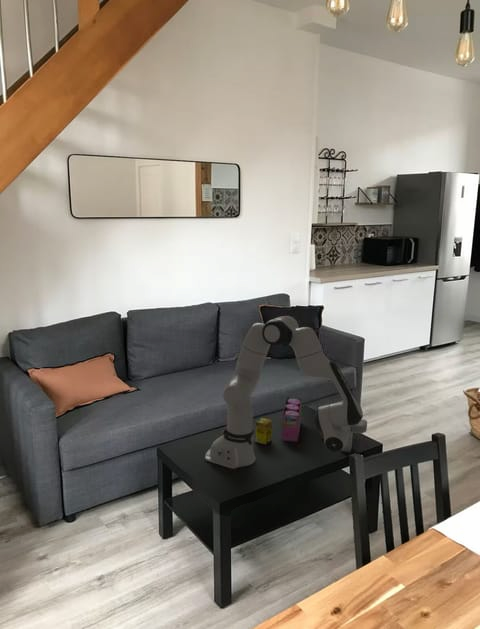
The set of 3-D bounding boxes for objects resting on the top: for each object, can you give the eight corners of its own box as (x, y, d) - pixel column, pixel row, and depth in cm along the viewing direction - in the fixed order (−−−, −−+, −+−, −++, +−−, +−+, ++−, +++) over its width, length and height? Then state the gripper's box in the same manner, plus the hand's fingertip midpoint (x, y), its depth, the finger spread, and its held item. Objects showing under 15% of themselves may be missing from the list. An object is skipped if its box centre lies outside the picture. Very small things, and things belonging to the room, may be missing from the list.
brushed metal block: (339, 450, 237) (340, 426, 235) (340, 446, 242) (342, 422, 239) (350, 452, 236) (351, 428, 233) (351, 448, 240) (353, 424, 238)
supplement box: (265, 446, 241) (266, 424, 238) (254, 443, 244) (255, 421, 241) (271, 441, 246) (272, 420, 243) (260, 438, 249) (261, 417, 246)
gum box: (285, 420, 270) (286, 396, 267) (300, 422, 269) (302, 397, 266) (281, 440, 247) (282, 414, 244) (298, 442, 246) (299, 415, 243)
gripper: (366, 425, 207) (369, 412, 220) (316, 418, 214) (322, 406, 227) (365, 439, 209) (368, 426, 221) (315, 432, 215) (321, 419, 228)
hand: (345, 416), depth 224 cm, fingers open, 8 cm apart
